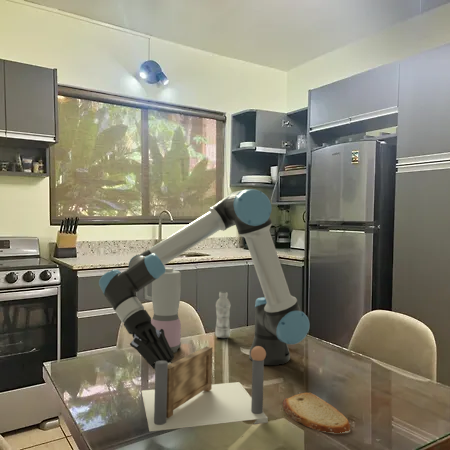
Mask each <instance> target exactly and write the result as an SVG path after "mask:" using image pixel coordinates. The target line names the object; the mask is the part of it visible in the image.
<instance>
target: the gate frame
mask: <svg viewBox="0 0 450 450" xmlns="http://www.w3.org/2000/svg"><path fill="white" fill-rule="evenodd" d="M251 357H252V359H253V361H252V360H251V363H252V368H251V370H252V371H251V372H252V373H251V395H250V394H249V393H248V391H247V390H246V389H245V387H243V385H242V384H241V382H239V381H238V382H237V381H236V382H224V383H215V384H213V383H212V389H211V390H210V391H208V392H207V391H202V392H201V393H199V394H197V395H196V396H194V397H193V398H191V399H190V400H188V401H187V402H185V403H184V404H182V405H181V406H179V407H177V408H176V409H174V410H173V415H172V416H171V417H169V418H166V412H167V368H168V362H167V361H157V362H155V369H154V389H143V390H141V395H142V401H143V405H144V410H145V415H146V419H147V420H146V421H147V426H148V430H149V432H157V431H165V430H166V431H167V430H175V429H182V428H183V429H184V428H191V427H201V426H210V425H217V424H218V425H219V424H220V425H221V424H227V423H228V424H229V423H235V422H245V421H254V420H255V422H253V423H252V424H253V425H258V424H266V423H267V424H268V421H269V417H268V416H267V415H266V414H265V412H264V410H263V409H264V408H263V407H264V371H265V370H264V369H265V366H264V359H265V357H266V351H265V349H264V348H263V347H261V346H256V347H254V348H253V349H252V350H251Z"/></svg>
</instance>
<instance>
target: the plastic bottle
mask: <svg viewBox="0 0 450 450" xmlns="http://www.w3.org/2000/svg"><path fill="white" fill-rule="evenodd" d="M218 293H219V294H218V297H219V298H218V299H217V300H216V301H215V312H216V324H215V331H214V332H215V337H216V338H219V339H228V338H230V335H231V327H230V310H231V302H230V300H229V298H228V297H229V292H227V291H219V292H218Z"/></svg>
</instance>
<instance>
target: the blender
mask: <svg viewBox="0 0 450 450" xmlns="http://www.w3.org/2000/svg"><path fill="white" fill-rule="evenodd" d="M165 269H166V272H165V273H164V274H163V275H161V276H160V277H159V278H158V279H156V280H154V281H153V282H151V296H150V295H148V286H149V284H148V285H147V286H145V287H144V288H142V295H143V299H144V300H146V301H148V302H151V303H152V310H153V315H152V316H153V317H151V324H152V325H153V326H154V327H155V328H156V329H157V330H161V329H163V330H164V334H165V337H166V339H167V342H168V344H169V346H170V348H171V350H172V353H173V354H174V353H177V352H178V349H180V348H181V346H182V345H181V344H182V342H181V340H182V339H181V337H182V333H181V332H182V324H181V320H180V318H179V308H180V304H181V303H180V302H181V295H182V294H181V288H182V287H181V286H182V283H181V282H182V281H181V280H182V277H181V275H182V274H183V273H182V272H180V271H179V270H174V268H173V267H165Z"/></svg>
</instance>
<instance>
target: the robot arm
mask: <svg viewBox="0 0 450 450" xmlns="http://www.w3.org/2000/svg"><path fill="white" fill-rule="evenodd" d="M272 210H273V209H272V203H271V201H270V198H269V197H268V196H267V194H266V193H264V192H262V190H258V189H254V188H246V189H241V190H237V191H236V190H235V191H233V192H231V193H229V194H228V195H227V196H225V197H223V198H222V199H221V200H220V201H218V202H216V203H215V204H214V205H212V206H211V207H209V209H208V212H206V213H205V214H203V215H201V216H199V217H198V218H197V219H195V220H193V221H192V222H190V223H189V224H187V225H185V226H184V227H182V228H180V229H178V230H177V231H175V232H174V233H173V234H172V233H171V235H169V236H167V237H166V238H164V239H162V240H161V241H159V242H158V243H156V244H155V245H152V246H151V247H149V248H148V249H147V250H145V251H143V252H142V253H139V254H136V255H133V257H131V258H130V260H129V262H128V268H127V269H126V270H124V271H120V270H119V269H117V268H115V269H114V268H113V269H112V270H110V271H107V272H105V273H104V274H103V275H102V276H101V277H100V278H99V280H98V286H99V288H100V290H101V291H102V294H103V295H104V297H105V298H106V300H107V301H108V303H109V304H110V306H111V307H112V308H113V309H112V310H114V312H115V314H116V315H117V317H118V318H119V320H120V321H121V323H123V327H124V328H125V330H126V331H127V333H128V334H129V335H132V338H133V340H131V341H130V343H129V345H130V347H132V348H133V349H135V350H136V351H137V352H138V353H139V355H140V356H141V357H142V358H143V359H144V360H145V361H146V362H147V363H148V364H149V366H151V368H152V369H153V370H155V362H157V361H167V362H168V365H169V364H171V363H173V362H172V361H173V360H174V358H175V355H174V353H173V352H172V350H171V348H170V346H169V344H168V342H167V339H166V337H165V334H164V330H163V329H161V330H157V329H156V328H155V327H154V326H153V325H152V324H151V320H152V317H151V316H150V314H149V313H148V311H147V310H146V309H145V306H144V305H143V304H142V302H141V301H140V299H139V298H138V297H137V295H136V293H138V292H140V291H141V290H143V288H144V287H145V286H147V285H148V286H149V285H150V284H152V282H153V281H154V280H156V279H158V278H159V277H160V276H161V275H163V274H164V273H165V272H166V269H165V268H166V267H165V265H167V264H168V263H170V262H172V261H173V260H174V259H176V258H177V257H179V256H181V255H183V254H184V253H186V252H187V251H189V250H190V249H192V248H194V247H195V246H197V245H198V244H200V243H201V242H203V241H205V240H206V239H208V238H210V237H211V236H213V235H215V234H216V233H218V232H219V231H223V232H224V231H226V230H227V229H229V228H231V227H234V226H235V227H236V230H237V233H238V235H239V236H240V237H242V238H244V239H245V242H246V245H247V248H248V252H249V254H250V257H251V261H252V264H253V265H254V270H255V273H256V275H257V279H258V281H259V283H260V287H261V290H262V293H263V295H264V297H262V296H261V297H258V298H256V299H255V305H254V337H253V340H252V344H251V347H250V350H249V360H250V361H251V362H252V361H253V359H252V357H251V350H252V349H253V348H254V347H256V346H261V347H263V348H264V349H265V351H266V357H265V359H264V365H266V366H280V365H279V364H282V365H285V364H284V363H286V362H288V361H289V360H290V361H291V352H290V350H289V346H288V345H297V344H299V343H301V342H302V341H303V340H304V339H305V338H306V337H307V335H308V333H309V330H310V320H309V317H308V315H306V313H305V312H304V311H302V310H301V308H300V305H299V302H298V299H297V298H296V297H295V296H293V295H292V294H291V292H290V290H289V286H288V282H287V280H286V277H285V273H284V270H283V267H282V264H281V261H280V258H279V255H278V252H277V249H276V246H275V244H274V240H273V237H272V235H271V232H270V229H271V227H272V225H273V222H272V220H271V219H272V218H271V213H272ZM148 286H147V287H148ZM290 361H289V362H290ZM289 362H288V363H289ZM286 364H287V363H286Z"/></svg>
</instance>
